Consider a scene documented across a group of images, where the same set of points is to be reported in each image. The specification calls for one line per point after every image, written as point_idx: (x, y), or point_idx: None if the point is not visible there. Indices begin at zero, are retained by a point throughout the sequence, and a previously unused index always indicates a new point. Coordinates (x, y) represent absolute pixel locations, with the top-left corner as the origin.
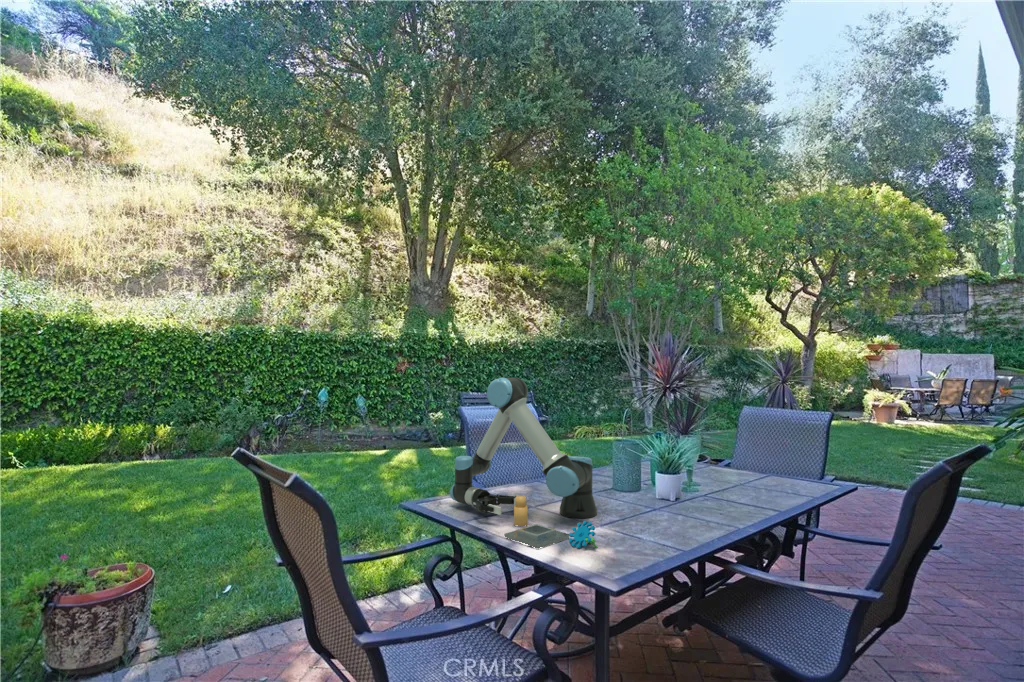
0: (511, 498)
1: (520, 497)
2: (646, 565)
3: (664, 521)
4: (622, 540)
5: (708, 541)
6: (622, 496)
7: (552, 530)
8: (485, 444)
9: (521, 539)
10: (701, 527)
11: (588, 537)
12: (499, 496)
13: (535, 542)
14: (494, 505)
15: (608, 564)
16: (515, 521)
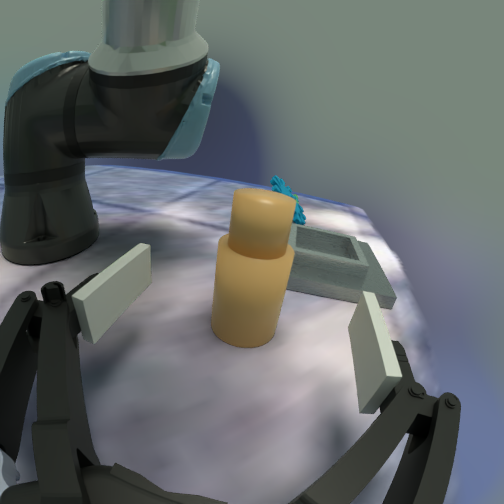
0: (67, 323)
1: (274, 196)
2: None
3: (100, 183)
4: (219, 198)
5: (174, 173)
6: None
7: (300, 225)
8: None
9: (378, 263)
10: (122, 174)
11: (295, 197)
12: (46, 422)
13: (362, 246)
14: (375, 333)
15: (319, 207)
16: (278, 316)
